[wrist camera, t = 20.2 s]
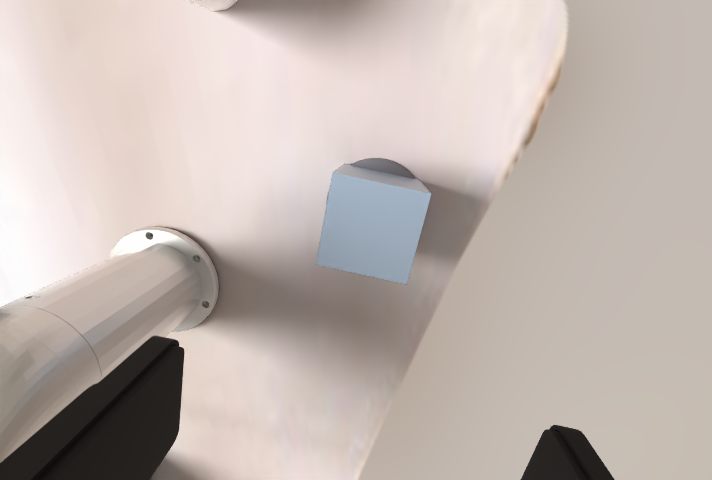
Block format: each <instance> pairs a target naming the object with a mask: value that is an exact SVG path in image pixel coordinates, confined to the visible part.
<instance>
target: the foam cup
mask: <svg viewBox="0 0 712 480" xmlns="http://www.w3.org/2000/svg"><path fill="white" fill-rule="evenodd" d="M185 1H188V2H190V3H192V4H195V5H197V6H200V7H202V8H205V9H207V10H210V11H218V10H226V9H228V8H229V7H231V6H232V5H233V4H234V3H236V2H237V1H238V0H185Z"/></svg>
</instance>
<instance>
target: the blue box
mask: <svg viewBox="0 0 712 480" xmlns="http://www.w3.org/2000/svg"><path fill="white" fill-rule="evenodd" d="M430 198H431V193H430V192H429V190H428V189H427V188H426V187H425V186H424V185H423V183H422V182H421V181H420V180H418V179H412V178H407V177H403V176H398V175H394V174H389V173H384V172H380V171H375V170H371V169H366V168H361V167H357V166H352V165H349V164H343V165H342V166H341V167H339V168H338V169H337V170H335V171H334V172H333V174H332V179H331V184H330V190H329V195H328V201H327V206H326V212H325V217H324V223H323V228H322V233H321V239H320V244H319V250H318V255H317V261H316V265H320V266H324V267H329V268H333V269H338V270H342V271H347V272H351V273H356V274H361V275H365V276H370V277H374V278H379V279H383V280H388V281H392V282H397V283H402V284H406V285H407V282H408V278H409V275H410V271H411V267H412V264H413V260H414V256H415V253H416V249H417V245H418V242H419V238H420V234H421V231H422V227H423V223H424V220H425V216H426V212H427V209H428V205H429V202H430Z"/></svg>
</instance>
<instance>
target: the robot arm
mask: <svg viewBox="0 0 712 480" xmlns="http://www.w3.org/2000/svg"><path fill="white" fill-rule="evenodd" d="M218 292H219V282H218V276H217V273H216V269H215V267H214V265H213V263H212V261H211V259H210V257H209V256H208V255H207V253H206V252H205V251H204V249H203V248H201V247H200V246H199V245H198V244H197V243H196V242H195V241H194V240H192V239H191V238H189V237H188V236H186V235H184V234H182V233H180V232H178V231H176V230H172V229H169V228H164V227H146V228H142V229H139V230H136V231H134V232H131V233H129V234H127V235H125V236H124V237H123V238H121V239H120V240H119V241H118V242H117V243H116V244H115V246H114V247H113V249H112V251H111V253H110V255H109V258H108V259H107V260H105V261H102V262H100V263H98V264H96V265H93V266H91V267H89V268H87V269H84V270H82V271H80V272H78V273H76V274H73V275H71V276H69V277H67V278H64V279H62V280H60V281H58V282H56V283H53V284H51V285H49V286H47V287H44V288H42V289H40V290H38V291H36V292H33V293H31V294H29V295H27V296H24V297H22V298H20V299H18V300H15V301H13V302H11V303H9V304H7V305H4V306H2V307H0V480H149V479H150V478H151V476H152V475H153V473H154V472H155V470H156V469H157V468H158V466H159V465H160V463H161V462H162V460H163V459H164V457H165V456H166V454H167V453H168V451H169V450H170V448H171V447H172V445H173V444H174V442H175V440H176V437H177V435H178V431H179V423H180V408H181V393H182V378H183V364H184V349H183V348H182V347H179V342H178V341H177V340H174V339H170V338H165V337H166V336H167V335H168V334H169V333H170V332H180V331H184V330H188V329H191V328H193V327H195V326H197V325H198V324H199V323H201V322H202V321H203V320H204V319H205V318H206V317H207V316H208V315H209V314H210V313H211V311H212V310H213V308H214V306H215V304H216V301H217V298H218ZM521 480H614V478H613V477H612V475H611V474H610V472H609V471H608V470H607V468H606V467H605V465H604V463H603V462H602V461H601V459H600V458H599V456H598V455H597V453H596V452H595V450H594V449H593V447H592V446H591V444H590V443H589V441H588V440H587V438H586V437H585V435H584V434H583V433H582V432H581V431H579V430H576V429H572V428H568V427H563V426H558V425H553V426H552V427H551V428H550V429H549V430H545V431H544V432H543V434H542V436H541V438H540V440H539V442H538V445H537V446H536V449H535V451H534V453H533V455H532V457H531V459H530V461H529V463H528V466H527V468H526V470H525V472H524V474H523V476H522V479H521Z"/></svg>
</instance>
